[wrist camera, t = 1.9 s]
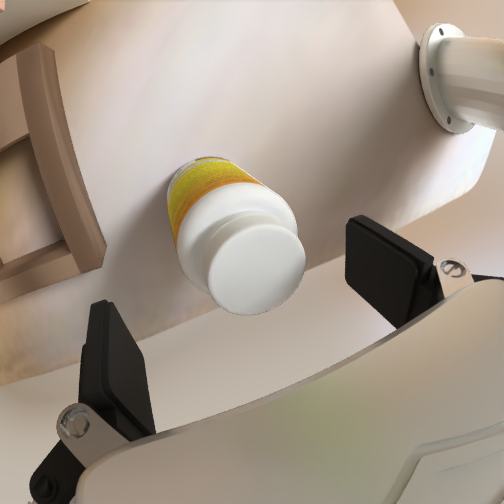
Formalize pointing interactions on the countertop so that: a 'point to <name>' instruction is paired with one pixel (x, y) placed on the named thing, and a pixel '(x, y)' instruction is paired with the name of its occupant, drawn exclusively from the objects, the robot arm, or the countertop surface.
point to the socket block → (47, 173)
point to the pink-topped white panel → (29, 14)
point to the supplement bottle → (234, 236)
